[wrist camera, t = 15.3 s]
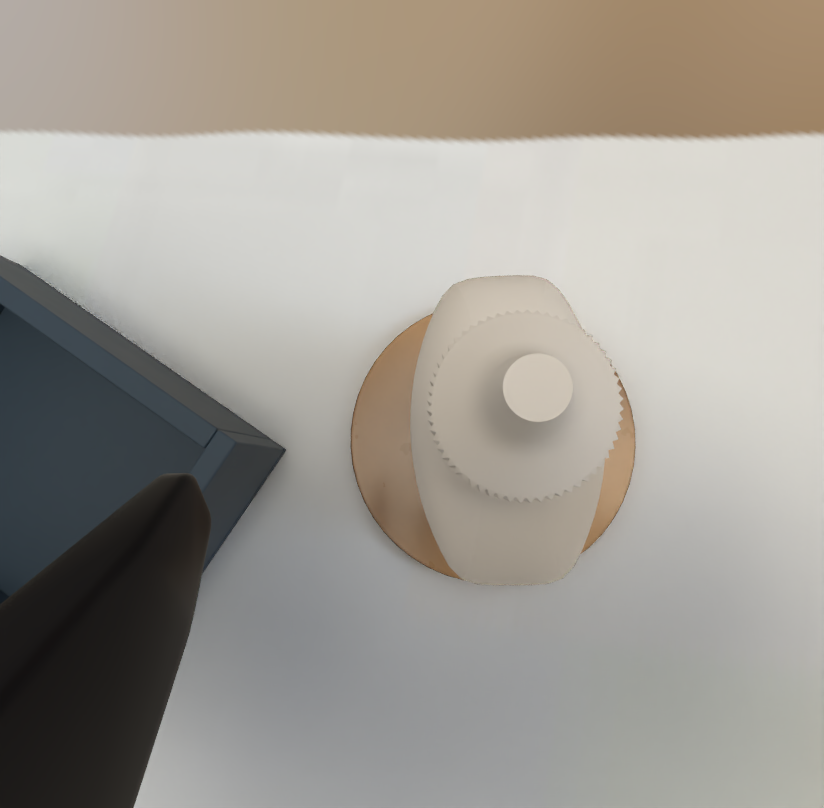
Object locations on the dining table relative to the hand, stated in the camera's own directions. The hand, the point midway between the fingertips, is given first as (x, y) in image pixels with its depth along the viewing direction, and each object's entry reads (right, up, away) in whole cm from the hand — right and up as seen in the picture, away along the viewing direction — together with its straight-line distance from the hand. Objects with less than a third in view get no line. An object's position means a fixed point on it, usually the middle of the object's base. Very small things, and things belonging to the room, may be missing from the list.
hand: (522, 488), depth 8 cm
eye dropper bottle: (+1, 0, +10) cm, 10 cm away
